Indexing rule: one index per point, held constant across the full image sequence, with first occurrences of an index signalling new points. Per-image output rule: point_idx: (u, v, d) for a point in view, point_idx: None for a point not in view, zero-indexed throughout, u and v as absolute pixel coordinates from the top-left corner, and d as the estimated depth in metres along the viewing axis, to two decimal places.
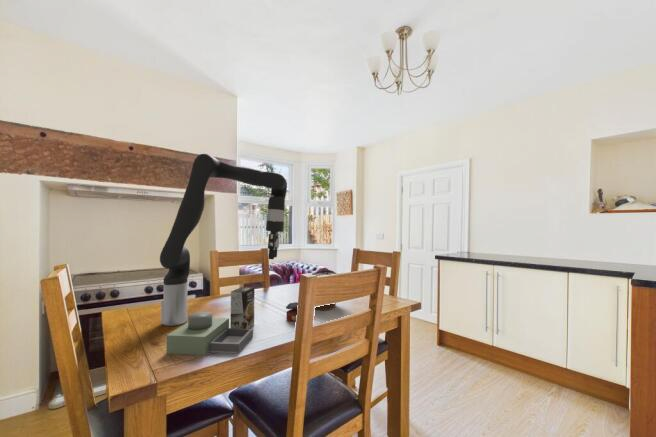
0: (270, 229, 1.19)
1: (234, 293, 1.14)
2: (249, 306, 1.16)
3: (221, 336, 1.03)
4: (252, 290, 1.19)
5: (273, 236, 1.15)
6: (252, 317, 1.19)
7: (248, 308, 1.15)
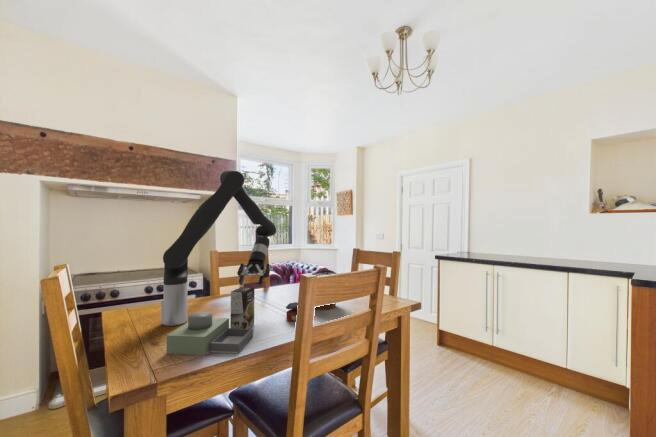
0: (263, 260, 1.34)
1: (234, 293, 1.14)
2: (249, 306, 1.16)
3: (221, 336, 1.03)
4: (252, 290, 1.19)
5: None
6: (252, 317, 1.19)
7: (248, 308, 1.15)
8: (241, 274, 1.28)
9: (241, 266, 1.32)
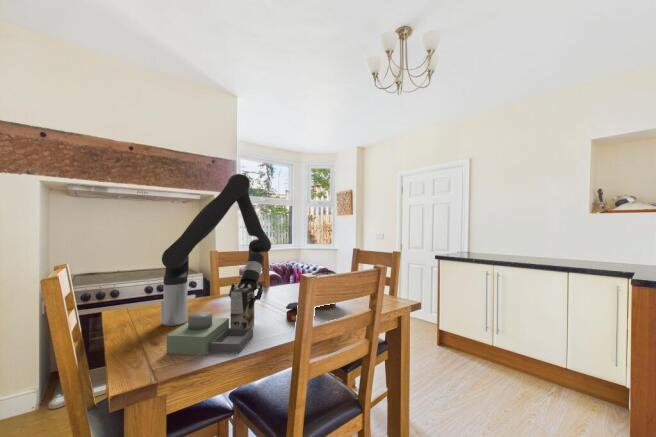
0: (256, 279, 1.24)
1: (234, 293, 1.14)
2: None
3: (221, 336, 1.03)
4: (252, 290, 1.19)
5: None
6: (252, 317, 1.19)
7: (248, 308, 1.15)
8: None
9: (232, 287, 1.22)
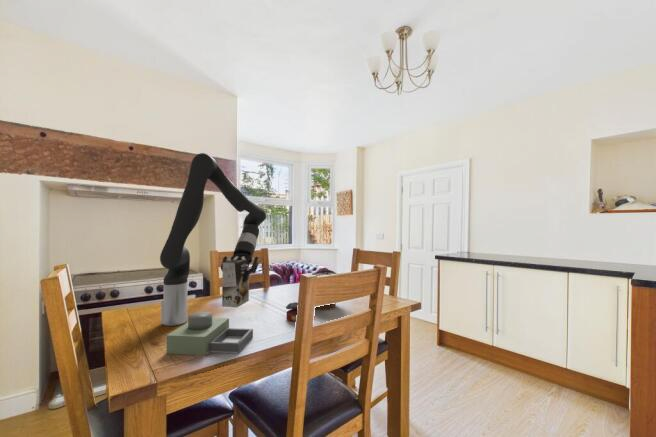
0: (251, 252, 1.13)
1: (226, 264, 1.02)
2: None
3: (221, 336, 1.03)
4: (246, 262, 1.08)
5: (258, 261, 1.11)
6: (246, 292, 1.08)
7: (242, 281, 1.04)
8: None
9: (225, 259, 1.11)
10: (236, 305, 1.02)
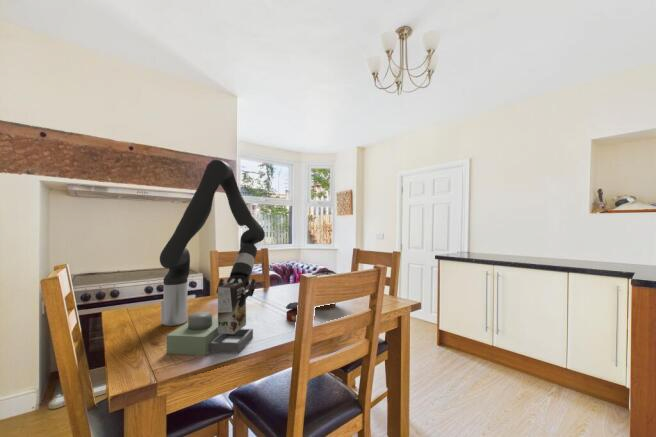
0: (248, 273, 1.09)
1: (222, 289, 0.99)
2: None
3: (221, 336, 1.03)
4: (243, 285, 1.04)
5: (255, 284, 1.07)
6: (243, 316, 1.04)
7: (238, 306, 1.00)
8: None
9: (221, 282, 1.07)
10: (232, 331, 0.98)
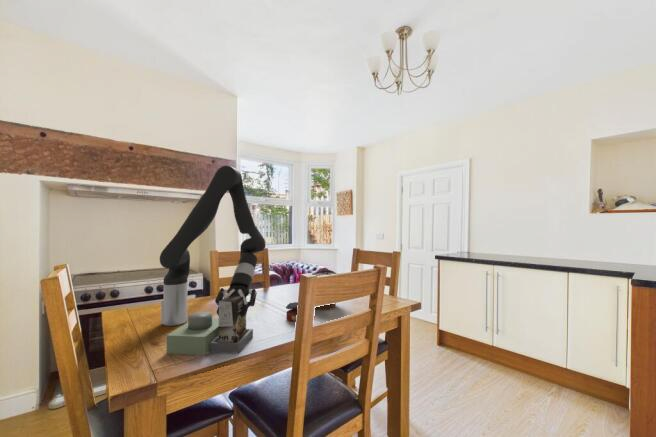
0: (248, 284, 1.09)
1: (223, 303, 0.99)
2: (240, 317, 1.02)
3: None
4: None
5: (256, 293, 1.08)
6: (244, 329, 1.04)
7: (239, 320, 1.01)
8: None
9: (221, 292, 1.07)
10: None
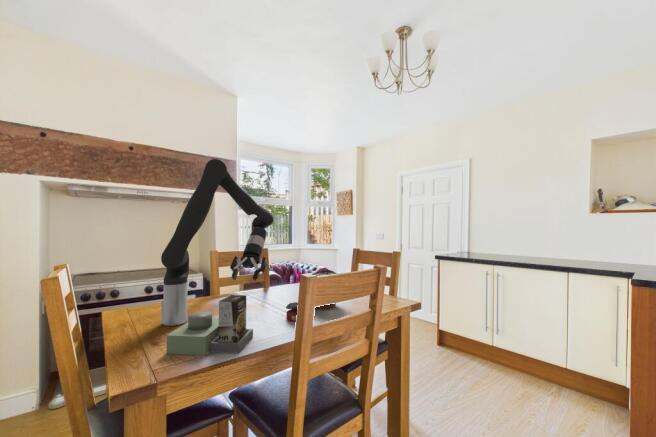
0: (259, 253, 1.22)
1: (223, 303, 0.99)
2: (240, 317, 1.02)
3: None
4: (244, 299, 1.04)
5: (266, 261, 1.21)
6: (244, 329, 1.04)
7: (239, 320, 1.01)
8: (234, 268, 1.17)
9: (235, 259, 1.21)
10: None
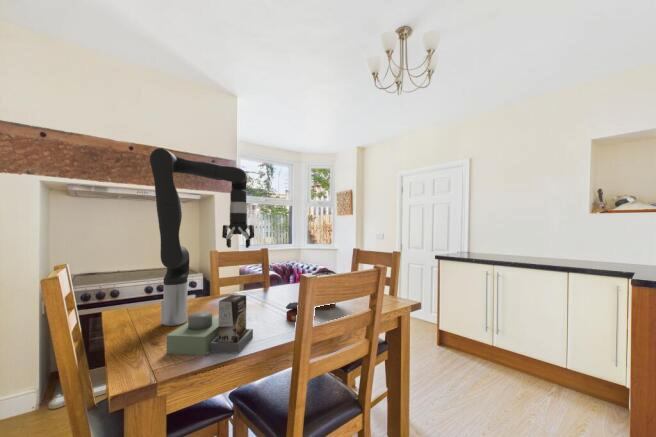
0: (244, 220, 1.29)
1: (223, 303, 0.99)
2: (240, 317, 1.02)
3: None
4: (244, 299, 1.04)
5: (253, 227, 1.31)
6: (244, 329, 1.04)
7: (239, 320, 1.01)
8: (227, 238, 1.30)
9: (224, 228, 1.30)
10: None
